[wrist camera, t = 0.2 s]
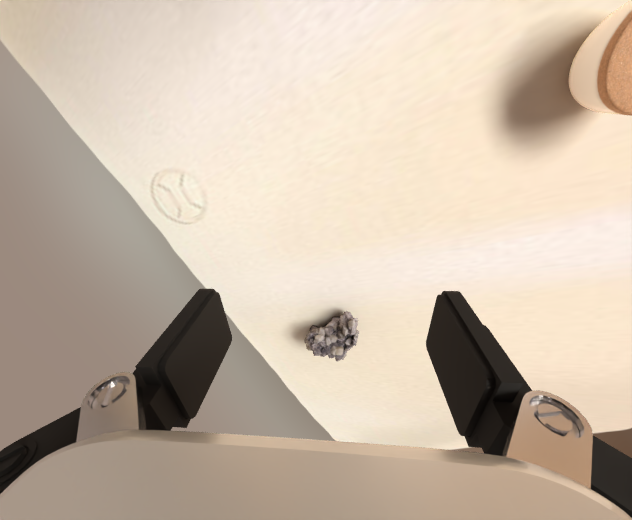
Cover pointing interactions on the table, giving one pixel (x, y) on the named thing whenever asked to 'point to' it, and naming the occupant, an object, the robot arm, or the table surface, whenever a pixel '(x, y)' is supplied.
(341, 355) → the mineral specimen
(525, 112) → the table surface
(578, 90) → the lidded jar
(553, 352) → the table surface
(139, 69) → the table surface
